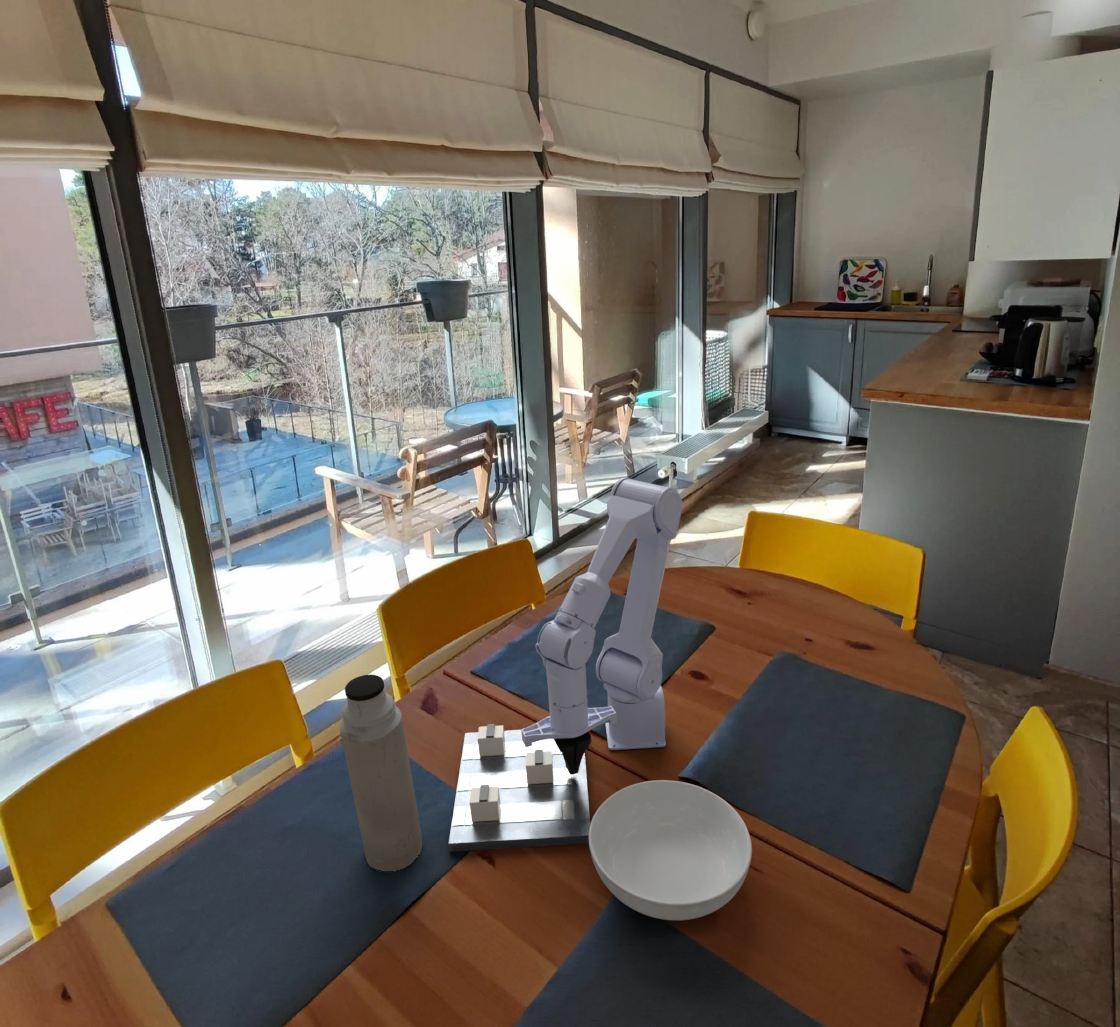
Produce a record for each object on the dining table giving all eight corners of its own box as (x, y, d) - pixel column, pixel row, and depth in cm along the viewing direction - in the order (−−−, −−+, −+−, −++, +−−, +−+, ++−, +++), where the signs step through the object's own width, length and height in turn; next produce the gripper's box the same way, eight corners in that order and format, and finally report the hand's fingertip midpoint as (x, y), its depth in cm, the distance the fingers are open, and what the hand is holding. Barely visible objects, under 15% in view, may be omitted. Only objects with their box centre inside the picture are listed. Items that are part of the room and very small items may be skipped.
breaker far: (505, 742, 123) (503, 723, 121) (504, 754, 120) (502, 735, 119) (481, 744, 123) (478, 724, 121) (479, 756, 120) (477, 736, 119)
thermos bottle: (384, 823, 110) (355, 662, 100) (432, 834, 108) (407, 670, 97) (354, 865, 103) (319, 697, 93) (404, 878, 101) (374, 707, 90)
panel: (582, 733, 127) (582, 725, 126) (591, 843, 104) (591, 834, 104) (466, 740, 127) (465, 732, 126) (449, 851, 104) (448, 842, 104)
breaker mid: (553, 769, 116) (551, 748, 115) (553, 782, 113) (551, 762, 112) (527, 770, 116) (525, 750, 115) (527, 784, 113) (525, 763, 112)
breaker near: (500, 804, 110) (498, 784, 108) (499, 820, 107) (497, 798, 106) (473, 806, 110) (471, 785, 108) (471, 821, 107) (469, 800, 106)
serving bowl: (715, 976, 85) (717, 933, 83) (561, 900, 96) (558, 860, 93) (770, 850, 102) (773, 811, 99) (633, 797, 112) (632, 761, 110)
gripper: (603, 671, 115) (606, 742, 120) (513, 693, 111) (520, 765, 116) (621, 696, 109) (623, 770, 114) (526, 720, 105) (533, 796, 110)
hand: (572, 769), depth 114 cm, fingers closed
